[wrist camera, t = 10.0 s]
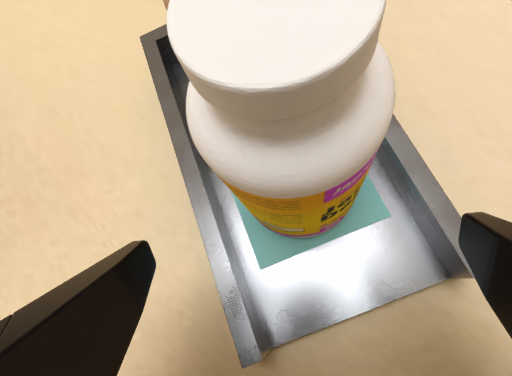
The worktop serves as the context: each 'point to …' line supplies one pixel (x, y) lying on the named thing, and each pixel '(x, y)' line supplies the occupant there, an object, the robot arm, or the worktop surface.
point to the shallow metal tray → (316, 247)
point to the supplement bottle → (286, 101)
